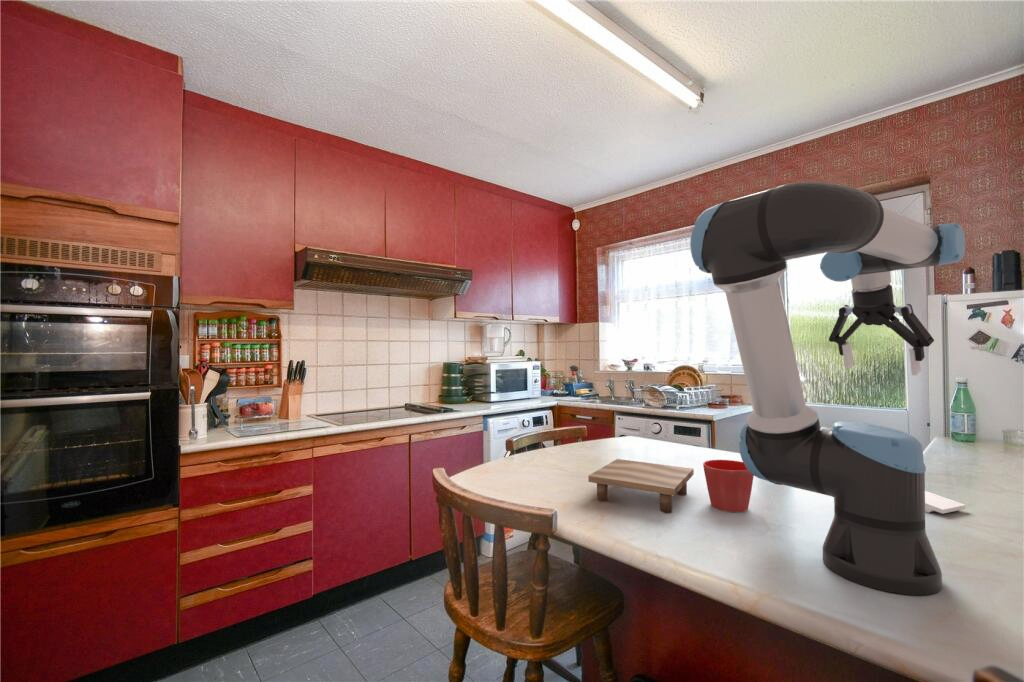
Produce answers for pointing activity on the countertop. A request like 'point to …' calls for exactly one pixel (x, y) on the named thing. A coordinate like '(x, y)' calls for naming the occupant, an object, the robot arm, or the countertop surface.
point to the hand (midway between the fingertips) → (881, 369)
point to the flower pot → (728, 484)
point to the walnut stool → (643, 479)
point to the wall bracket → (941, 504)
